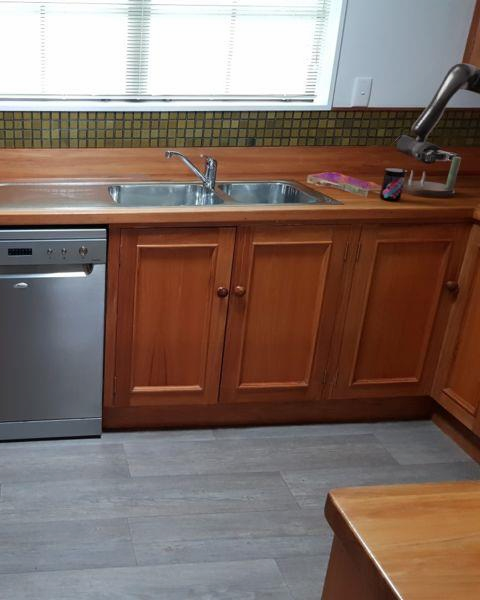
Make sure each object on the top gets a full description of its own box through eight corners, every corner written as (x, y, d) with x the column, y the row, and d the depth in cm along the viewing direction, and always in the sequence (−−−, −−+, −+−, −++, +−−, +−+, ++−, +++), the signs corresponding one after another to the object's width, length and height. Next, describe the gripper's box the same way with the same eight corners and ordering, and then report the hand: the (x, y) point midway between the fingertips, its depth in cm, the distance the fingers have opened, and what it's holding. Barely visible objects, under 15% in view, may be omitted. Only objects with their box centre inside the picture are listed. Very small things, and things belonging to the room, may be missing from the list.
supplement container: (375, 199, 215) (382, 169, 211) (383, 196, 219) (390, 167, 215) (395, 202, 210) (402, 172, 206) (403, 200, 215) (409, 170, 210)
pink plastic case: (393, 196, 220) (396, 181, 218) (360, 198, 215) (363, 184, 213) (334, 179, 246) (336, 166, 244) (304, 181, 241) (306, 168, 239)
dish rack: (451, 186, 229) (460, 154, 225) (454, 195, 215) (463, 161, 211) (402, 181, 236) (409, 150, 232) (401, 190, 222) (409, 156, 217)
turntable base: (452, 190, 230) (453, 186, 230) (455, 200, 215) (456, 196, 215) (399, 185, 237) (400, 181, 237) (399, 194, 223) (400, 190, 222)
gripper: (409, 142, 239) (428, 148, 225) (446, 143, 239) (468, 149, 224) (405, 161, 242) (423, 169, 227) (442, 162, 242) (463, 170, 227)
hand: (445, 159), depth 226 cm, fingers open, 8 cm apart
